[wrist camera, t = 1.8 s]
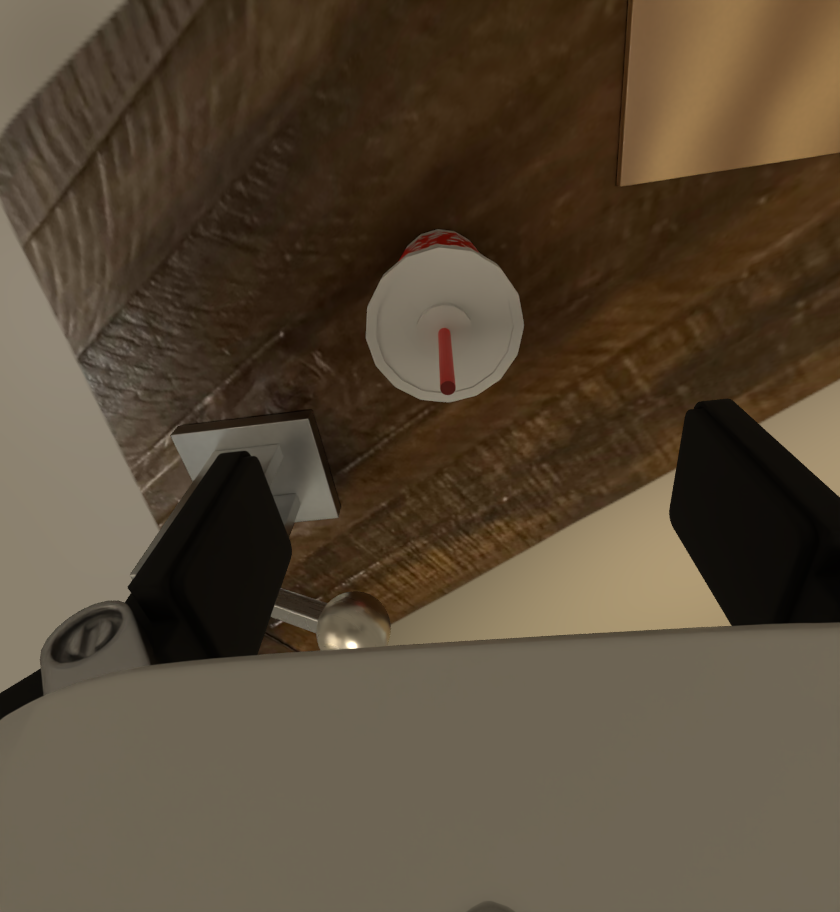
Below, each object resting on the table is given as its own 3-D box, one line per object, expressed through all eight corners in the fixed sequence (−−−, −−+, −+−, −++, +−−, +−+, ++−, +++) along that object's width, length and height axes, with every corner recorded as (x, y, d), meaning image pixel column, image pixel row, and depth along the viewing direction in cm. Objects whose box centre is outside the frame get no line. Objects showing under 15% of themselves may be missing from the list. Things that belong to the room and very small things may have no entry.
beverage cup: (445, 351, 29) (455, 501, 17) (360, 282, 27) (306, 398, 15) (521, 268, 26) (594, 377, 15) (434, 183, 24) (437, 232, 12)
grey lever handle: (396, 586, 21) (357, 648, 19) (408, 633, 23) (373, 695, 20) (201, 530, 26) (152, 573, 24) (222, 572, 28) (178, 616, 26)
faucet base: (312, 409, 31) (257, 537, 21) (341, 507, 36) (306, 651, 26) (177, 425, 32) (65, 556, 22) (222, 519, 36) (144, 663, 26)
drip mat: (615, 186, 24) (619, 187, 24) (635, -112, 19) (640, -118, 18) (880, 144, 23) (890, 144, 22) (982, -184, 18) (998, -194, 17)
